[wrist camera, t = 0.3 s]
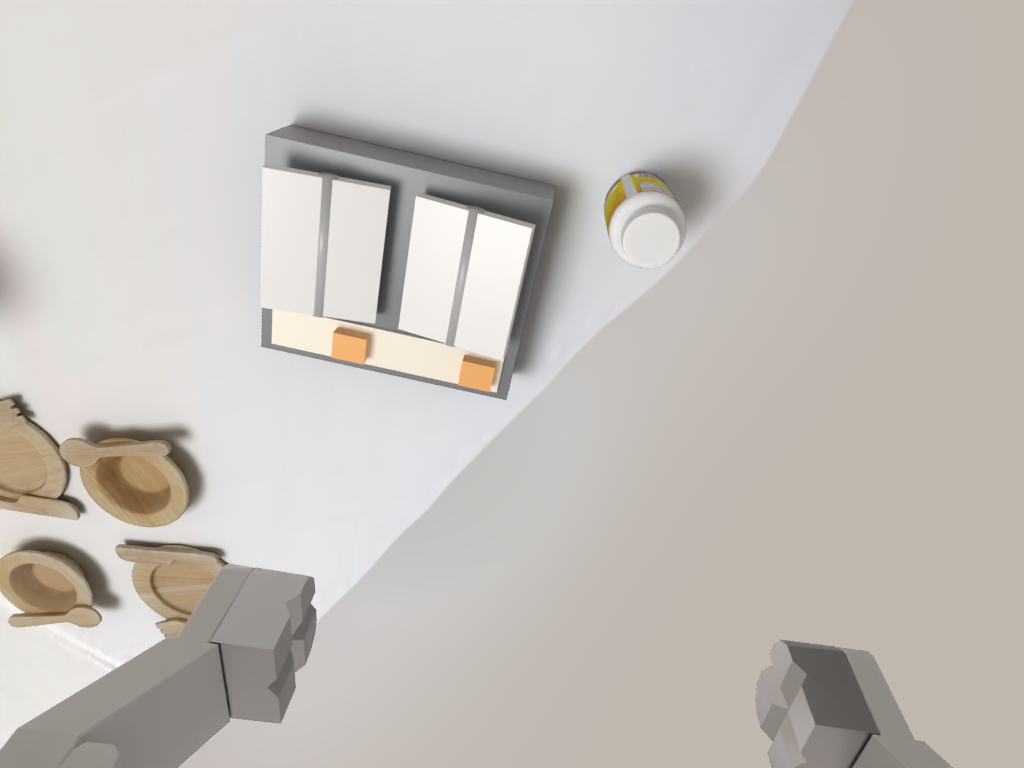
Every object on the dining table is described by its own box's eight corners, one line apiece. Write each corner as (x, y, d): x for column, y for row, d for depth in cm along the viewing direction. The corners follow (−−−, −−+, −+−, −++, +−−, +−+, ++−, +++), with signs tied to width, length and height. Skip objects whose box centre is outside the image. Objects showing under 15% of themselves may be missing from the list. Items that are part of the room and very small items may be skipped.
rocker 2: (422, 191, 50) (415, 194, 48) (536, 223, 48) (532, 227, 47) (404, 324, 55) (397, 330, 54) (506, 355, 54) (501, 362, 53)
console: (290, 124, 53) (257, 137, 48) (554, 185, 54) (553, 205, 48) (283, 323, 62) (254, 354, 56) (510, 373, 63) (504, 408, 57)
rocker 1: (266, 161, 48) (262, 166, 47) (391, 184, 49) (390, 189, 48) (263, 301, 53) (259, 309, 52) (376, 318, 55) (374, 325, 54)
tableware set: (260, 630, 84) (246, 656, 81) (45, 622, 87) (23, 648, 83) (183, 391, 67) (162, 412, 64) (-81, 391, 70) (-116, 411, 66)
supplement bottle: (614, 247, 56) (623, 290, 47) (594, 184, 54) (599, 217, 45) (679, 224, 55) (701, 264, 46) (661, 159, 52) (680, 188, 43)
